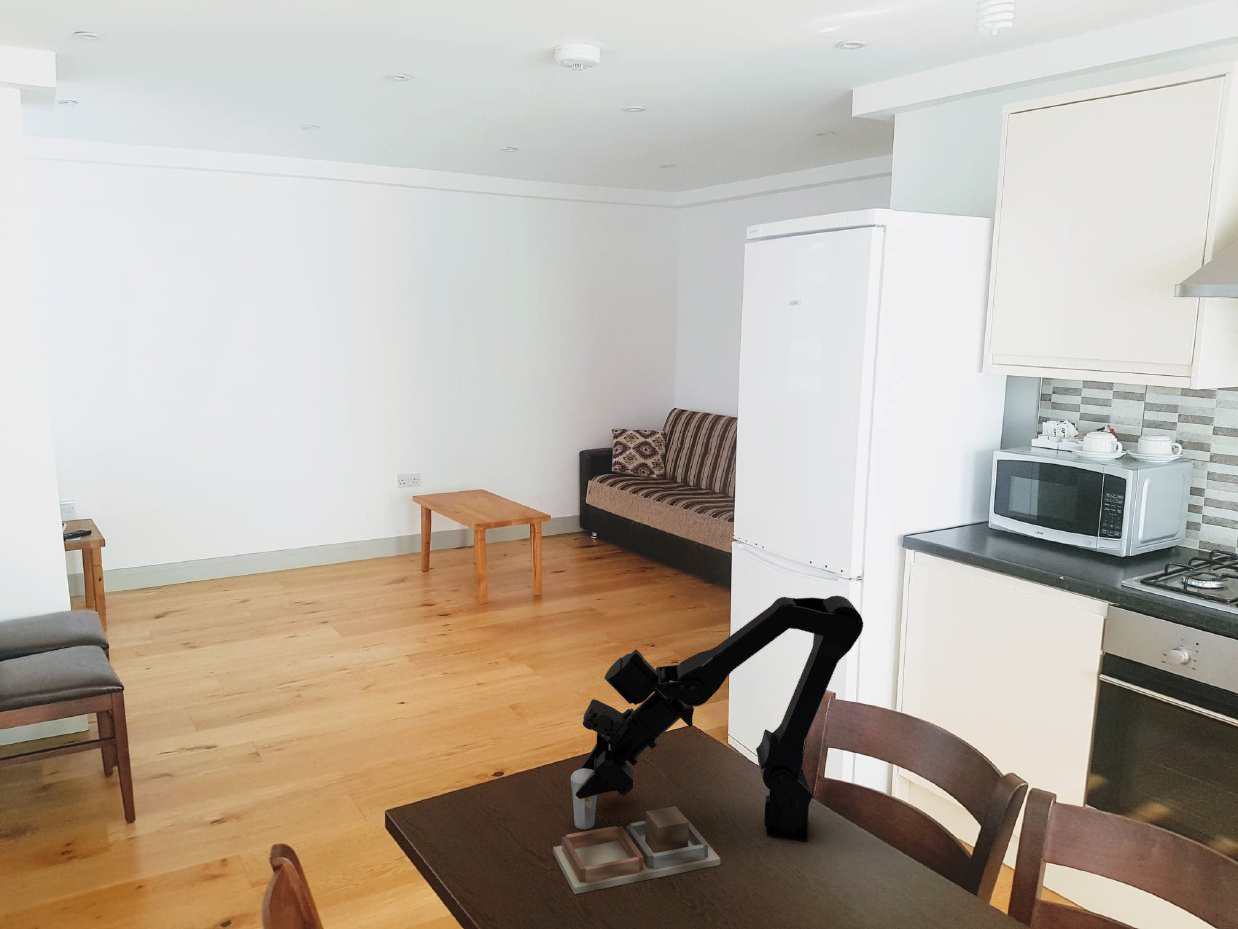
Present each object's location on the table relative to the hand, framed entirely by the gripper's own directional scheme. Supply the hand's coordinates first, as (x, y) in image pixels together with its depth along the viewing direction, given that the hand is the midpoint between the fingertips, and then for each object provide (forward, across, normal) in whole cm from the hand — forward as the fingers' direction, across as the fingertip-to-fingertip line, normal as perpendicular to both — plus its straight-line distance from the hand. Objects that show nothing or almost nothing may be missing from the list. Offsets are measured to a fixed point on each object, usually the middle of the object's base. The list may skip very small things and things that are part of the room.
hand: (578, 785), depth 150 cm
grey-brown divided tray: (-2, +10, +11) cm, 15 cm away
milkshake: (+4, 0, +6) cm, 7 cm away
